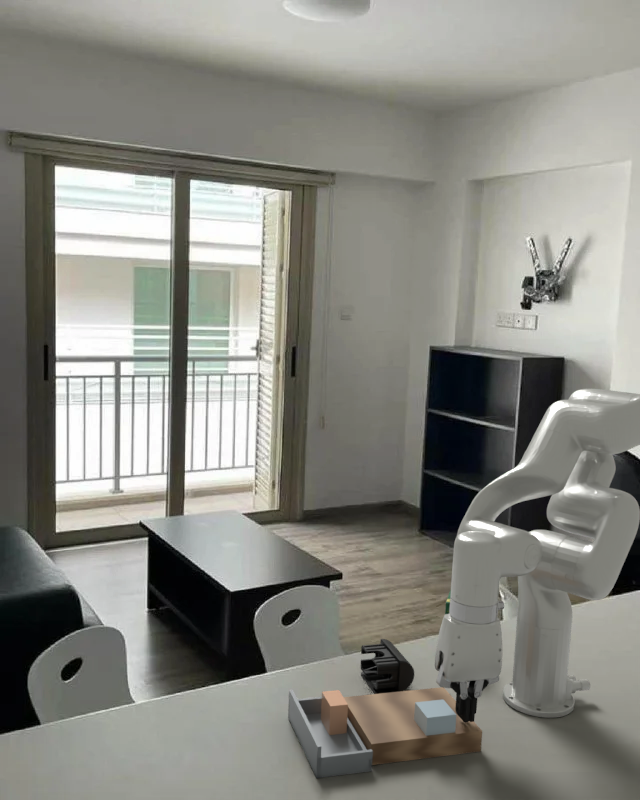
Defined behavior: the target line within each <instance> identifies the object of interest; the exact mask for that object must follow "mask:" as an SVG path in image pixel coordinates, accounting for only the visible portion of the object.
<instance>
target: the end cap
mask: <svg viewBox="0 0 640 800" xmlns="http://www.w3.org/2000/svg"><path fill="white" fill-rule="evenodd" d="M379 641H380V643H377V644H376V643H375V644H365V645H361V647H360V649H361V650H360V652H361V655H366V654H367V655H368V654H374V657H371V658H363V659H361V660H360V670H361V672H360V676H361V678H362V679H363V680H364V682H365V683H366V684H367V686H368V687H369V688H370V690H371V691H372V694H380V693H390V692H400V691H407V689H408V688H410V686H412V683H413V681H414V679H415V670H414V667H413V665H412V664H411V663H410V662H409V661H408V660H407V658H406V657H405V656H404V655H403V654H402V653H401V651H400V650H399V649H398V648H397V647H396V646H395V645H394V644H393V642H391V640H388V639H385V638H380V640H379Z"/></svg>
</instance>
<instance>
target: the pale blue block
mask: <svg viewBox="0 0 640 800" xmlns="http://www.w3.org/2000/svg"><path fill="white" fill-rule="evenodd" d="M414 720H415V722H416V723H417V724H418V726H419V727H420V728H421V730H422V731H423V732H424V734H425V735H426V736H428V735H437V734H445V733H454V732H455V728H456V714H455V712H454V711H453V710H452V709H451V708H450V707H449V705H448V704H447V703H446V702H445V701H444V700H433V701H424V702H415V713H414Z"/></svg>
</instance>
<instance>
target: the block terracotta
mask: <svg viewBox="0 0 640 800" xmlns="http://www.w3.org/2000/svg"><path fill="white" fill-rule="evenodd" d="M321 697H322V705H321V721H322V723H323V725H324V726H325V728H326V730H327V732H328V734H329V735H335V734H344V733H347V715H348V704H347V702H346V700H345V699H344V697H345V696H343V693H342V692H341V691H340V690H339V689H335V690H326V691H325V690H324V691H322V692H321Z"/></svg>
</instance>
